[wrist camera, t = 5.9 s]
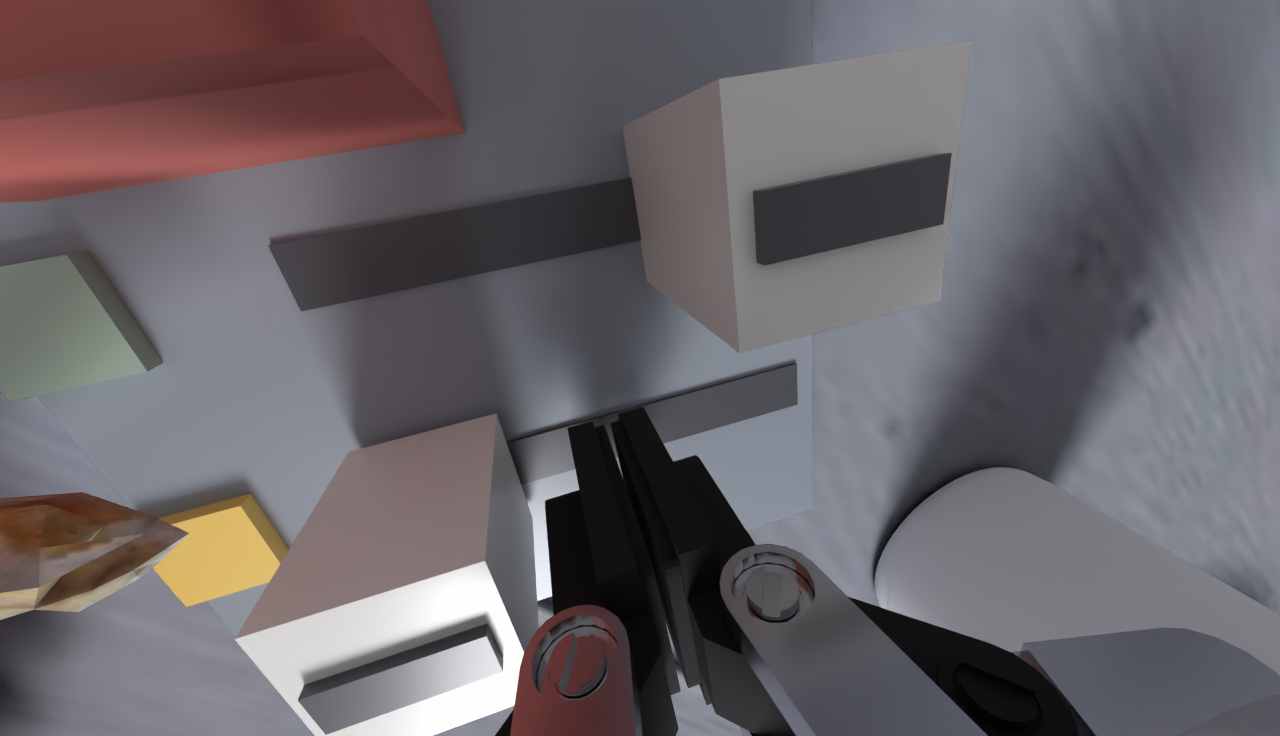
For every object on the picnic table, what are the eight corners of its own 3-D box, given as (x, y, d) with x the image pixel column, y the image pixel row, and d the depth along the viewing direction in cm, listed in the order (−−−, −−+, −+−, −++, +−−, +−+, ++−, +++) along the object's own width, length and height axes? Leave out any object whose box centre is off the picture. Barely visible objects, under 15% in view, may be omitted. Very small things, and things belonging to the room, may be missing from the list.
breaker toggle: (496, 413, 10) (484, 573, 6) (532, 518, 11) (543, 708, 7) (348, 451, 9) (225, 654, 5) (404, 557, 10) (338, 784, 7)
